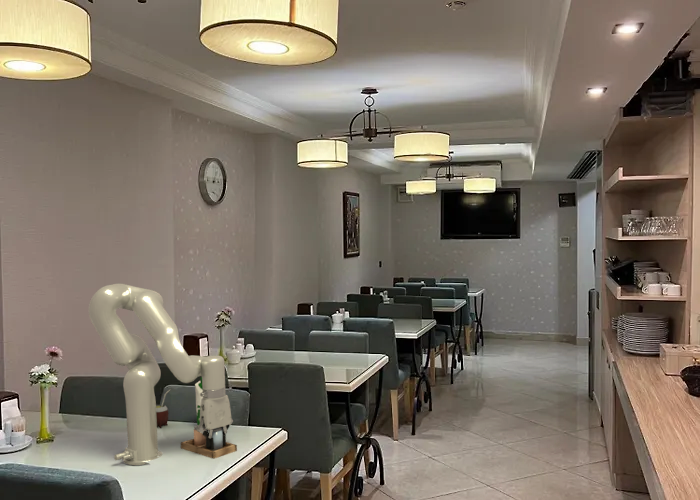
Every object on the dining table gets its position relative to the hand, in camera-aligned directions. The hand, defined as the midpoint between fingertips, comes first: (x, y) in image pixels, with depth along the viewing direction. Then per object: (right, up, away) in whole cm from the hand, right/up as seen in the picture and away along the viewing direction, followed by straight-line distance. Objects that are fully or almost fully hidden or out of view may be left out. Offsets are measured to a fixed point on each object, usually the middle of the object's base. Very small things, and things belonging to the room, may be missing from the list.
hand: (216, 446), depth 222 cm
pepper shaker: (-6, -2, +6) cm, 9 cm away
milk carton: (-9, -3, +34) cm, 35 cm away
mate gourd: (-30, -4, +38) cm, 48 cm away
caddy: (-3, -3, +3) cm, 5 cm away
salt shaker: (0, -1, 0) cm, 1 cm away
